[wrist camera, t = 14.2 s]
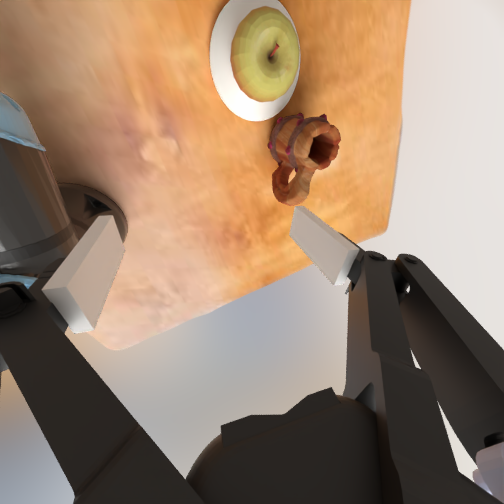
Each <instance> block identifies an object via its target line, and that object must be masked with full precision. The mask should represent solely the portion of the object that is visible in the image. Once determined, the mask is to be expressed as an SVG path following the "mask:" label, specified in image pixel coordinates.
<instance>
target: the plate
mask: <svg viewBox="0 0 504 504" xmlns="http://www.w3.org/2000/svg"><path fill="white" fill-rule="evenodd" d="M263 6H268V7H271V8H275V9H278V10H279V11H281V12H282V13H283V14H284V15H285V16H286V17H287V18H288V19H289V20H290V21H291V23H292V25H293V27H294V29H295V32H296V34H297V31H296V28H295V26H294V23H293V21H292V19H291V17H290V15H289V13H288V12H287V10H286V9H285V7H284V6H283V5H282V4H281V3H280V2H279V1H278V0H230V1H229V2H228V3H227V4H226V5H225V6H224V8H223V9H222V11H221V12H220V14H219V16H218V18H217V20H216V23H215V25H214V28H213V31H212V36H211V41H210V54H209V59H210V69H211V74H212V78H213V82H214V85H215V87H216V90H217V92H218V94H219V96H220V98H221V99H222V101H223V102H224V104H225V105H226V106H227V107H228V108H229V109H230V110H231V111H232V112H233V113H234V114H236V115H237V116H239V117H241V118H243V119H246V120H249V121H263V120H267V119H269V118H271V117H273V116H275V115H276V114H278V113H279V112H280V111H281V110H282V109H283V108H284V107H285V106H286V104H287V103H288V101H289V100H290V98H291V96H292V94H293V92H294V90H295V87H296V84H297V80H298V76H299V70H300V54H299V66H298V70H297V73H296V76H295V79H294V82H293V84H292V85H291V87H290V88H289V89H288V91H287V92H286V93H285V94H284V95H282V96H281V97H279V98H278V99H276V100H274V101H270V102H258V101H255V100H253V99H250V98H249V97H248V96H247V95H245V94H244V93H243V92H242V91H241V90H240V88H239V86H238V84H237V82H236V80H235V78H234V76H233V72H232V67H231V62H230V56H231V43H232V40H233V38H234V35H235V32H236V30H237V27H238V25H239V23H240V22H241V21H242V20H243V19H244V18H245V17H246V16H247V15H248V14H249V13H250V12H251V10H253V9H256V8H260V7H263ZM297 37H298V35H297ZM298 43H299V39H298ZM299 49H300V46H299Z"/></svg>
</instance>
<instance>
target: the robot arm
mask: <svg viewBox="0 0 504 504" xmlns="http://www.w3.org/2000/svg"><path fill="white" fill-rule="evenodd" d="M44 151H46V149H45V147H44V146H43V145H41V144H40V142H39V140H38V137H37V135H36V133H35V131H34V129H33V127H32V124H31V122H30V120H29V118H28V116H27V114H26V112H25V111H24V109H23V108H22V107H21V106H20V105H19V104H18V103H17V102H16V101H14V100H13V99H12V98H10V97H9V96H7V95H5V94H3V93H2V92H0V387H1V372H2V371H5V370H7V369H9V370H10V372H11V373H12V375H13V377H14V379H15V381H16V383H17V385H18V387H19V388H20V390H21V392H22V394H23V396H24V398H25V400H26V402H27V404H28V406H29V407H30V409H31V411H32V413H33V415H34V417H35V419H36V420H37V422H38V424H39V426H40V428H41V430H42V432H43V434H44V436H45V438H46V440H47V441H48V443H49V445H50V447H51V449H52V451H53V452H54V454H55V456H56V458H57V460H58V462H59V464H60V466H61V468H62V470H63V472H64V474H65V475H66V477H67V479H68V481H69V483H70V485H71V487H72V489H73V491H74V495H75V499H74V502H73V504H504V350H503V349H502V348H501V347H500V345H499V344H498V343H497V342H496V341H495V340H494V339H493V338H492V337H491V336H490V335H489V333H488V332H487V331H486V330H485V329H484V328H483V327H482V326H481V325H480V324H479V323H478V322H477V320H476V319H475V318H474V317H473V316H472V315H471V314H470V313H469V312H468V311H467V310H466V308H465V307H464V306H463V305H462V304H461V303H460V302H459V301H458V300H457V299H456V298H455V296H454V295H453V294H452V293H451V292H450V291H449V290H448V289H447V288H446V287H445V286H444V285H443V283H442V282H441V281H440V280H439V279H438V278H437V277H436V276H435V275H434V274H433V273H432V271H431V270H430V269H429V268H428V267H427V266H426V265H425V264H424V263H423V262H422V261H421V260H420V259H418V258H417V257H415V256H412V255H410V254H409V255H408V254H399V256H398V257H397V259H396V260H388V259H387V258H386V257H385V256H384V255H382V254H380V253H377V252H374V251H364V250H363V249H361V248H360V247H359V246H358V245H356V244H355V243H354V242H352V241H351V240H350V239H348V238H347V237H346V236H344V235H343V234H341V233H339V232H337V231H335V230H334V229H333V228H332V227H330V226H329V225H328V224H326V223H325V222H324V221H322V220H321V219H320V218H318V217H317V216H316V215H315V214H313V213H312V212H311V211H309V210H308V209H307V208H305V207H304V206H295V209H294V214H293V219H292V224H291V229H290V234H289V236H290V237H291V238H292V239H293V240H294V241H295V242H296V244H297V245H298V246H299V247H300V248H301V249H302V250H303V251H304V253H305V254H306V255H307V256H308V257H309V258H310V259H311V261H312V262H313V263H314V264H315V265H316V266H317V267H318V268H319V270H320V271H321V272H322V273H323V274H324V275H325V276H326V278H328V280H329V281H330V282H331V283H332V284H333V285H334V286H337V285H342V284H344V283H345V281H346V278H347V277H348V278H349V279H350V280H351V282H350V284H349V287H348V288H347V290H346V292H345V294H347V293H348V292H349V302H348V333H347V334H348V336H347V365H346V366H347V367H346V385H345V390H344V393H343V396H340V395H336V394H335V393H334V391H333V389H332V387H331V388H328V389H324V390H322V391H319V392H316V393H313V394H310V395H308V396H306V397H305V398H304V399H303V400H301V401H300V402H299V403H298V404H296V405H295V406H294V407H293V408H292V409H290V410H289V411H288V412H287V413H285V414H282V415H250V416H247V417H245V418H241V419H239V420H236V421H233V422H230V423H227V424H224V425H221V434H220V435H219V436H217V437H216V438H215V439H214V440H213V441H211V442H210V444H208V446H207V447H206V448H205V449H204V450H203V451H202V453H201V454H200V455H199V457H198V458H197V460H196V461H195V463H194V464H193V466H192V468H191V470H190V472H189V473H188V475H187V477H186V480H185V479H184V477H183V476H182V475H181V474H180V473H179V471H178V470H177V469H176V468H175V467H174V465H173V464H172V463H171V462H170V461H169V459H168V458H167V457H166V456H165V454H164V453H163V452H162V451H161V450H160V448H159V447H158V446H157V445H156V444H155V442H154V441H153V440H152V439H151V438H150V436H149V435H148V434H147V433H146V432H145V430H144V429H143V428H142V427H141V426H140V425H139V424H138V422H137V421H136V420H135V419H134V418H133V416H132V415H131V414H130V413H129V412H128V410H127V409H126V408H125V407H124V405H123V404H122V403H121V402H120V401H119V400H118V398H117V397H116V396H115V395H114V393H113V392H112V391H111V390H110V388H109V387H108V386H107V385H106V384H105V383H104V381H103V380H102V379H101V378H100V376H99V375H98V374H97V373H96V372H95V370H94V369H93V368H92V367H91V365H90V364H89V363H88V362H87V361H86V359H85V358H84V357H83V356H82V355H81V354H80V352H79V351H78V350H77V349H76V348H75V346H74V345H73V344H72V343H71V342H70V340H69V339H68V338H67V337H66V335H65V334H64V333H65V331H66V329H67V327H68V326H69V328H70V329H71V330H72V332H73V333H74V334H76V333H81V332H86V331H92V330H94V329H95V327H96V324H97V321H98V319H99V316H100V314H101V311H102V309H103V306H104V304H105V301H106V298H107V296H108V293H109V291H110V288H111V286H112V283H113V281H114V278H115V276H116V273H117V270H118V268H119V265H120V263H121V260H122V258H123V255H124V253H125V248H124V246H123V243H124V241H125V239H126V236H127V232H128V226H127V221H126V218H125V216H124V214H123V212H122V211H121V210H120V208H119V207H118V206H117V205H116V204H115V203H114V202H113V201H112V200H111V199H109V198H108V197H107V196H105V195H104V194H102V193H100V192H98V191H96V190H94V189H91V188H89V187H86V186H82V185H77V184H70V183H59V184H57V182H56V180H55V177H54V175H53V172H52V170H51V167H50V164H49V162H48V159H47V157H46V154H45V152H44ZM409 285H410V291H409V293H408V292H407V291H406V289H407V288H408V286H409ZM410 348H411V349H410ZM411 350H412V352H413V354H414V356H415V358H416V360H417V362H418V364H419V366H420V367H421V369H419V368H416V367H415V364H414V361H413V357H412V354H411ZM437 401H438V402H439V405H440V406H441V408H442V410H443V412H444V414H445V416H446V418H447V420H448V421H449V423H450V425H451V427H452V429H453V430H454V432H455V434H456V435H457V437H458V438H459V440H460V442H461V443H462V445H463V446H464V448H465V449H466V451H467V452H468V454H469V455H470V457H471V458H472V459H473V461H474V462H475V463H476V465H477V467H478V469H476V470H475V471H473V479H474V481H475V483H474V482H473V481H471V480H470V479H469V478H467V477H466V476H464V475H463V474H461V473H460V472H459V471H458V468H457V465H456V461H455V458H454V455H453V452H452V448H451V445H450V442H449V438H448V435H447V431H446V428H445V425H444V422H443V418H442V415H441V412H440V408H439V405H438V402H437Z"/></svg>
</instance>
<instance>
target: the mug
mask: <svg viewBox="0 0 504 504" xmlns="http://www.w3.org/2000/svg"><path fill="white" fill-rule="evenodd" d="M340 141H341V137H340V133H339V130H338V129H337V128H336V127H335V126H334V125H330V123H329V122H328V121H327V116H326V115H325V114H323V115H321V116H320V117H310V118H306V119H304V116H303V114H302V113H299V114H298V115H293V116H287V117H285V118H282V117H280V118H278V120H277V124H276V125H275V127H274V129H273V131H272V133H271V137H270V141H269V143H268V148H269V149H270V151H271V155H272V157H273V159H274V160H276V161H277V162H278V166H279V168H278V169H277V170H275V171H274V173H273V174H272V186H273V193H274V195H275V197H276V199H277V200H278V201H279V202H281V203H283V204H286V205H289V206H294V205H298V204H300V203H302V202H303V201H304V200H305V199H306V198H307V196H308V194H309V187H310V181H311V178H312V176H313V174H314V172H315V170H316V169H319V170H322V169H325V168H326V167H328V166H329V165H330V163H331V161H332V160H334V159H335V158H336V156H337V154H338V149H339V145H338V143H339V142H340ZM294 168H295V172H296V175H295V177H294V178H293V180H292V181H291V182H290V183H289V184H288V179H289V175H290V173H291V172H292V170H293V169H294Z"/></svg>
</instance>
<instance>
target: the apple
mask: <svg viewBox="0 0 504 504" xmlns="http://www.w3.org/2000/svg"><path fill="white" fill-rule="evenodd" d="M299 54H300V49H299V43H298V37H297V34H296V32H295V29H294V27H293V25H292V23H291V21H290V20H289V19H288V18H287V17H286V16H285V15H284V14H283V13H282V12H281V11H279V10H278V9H275V8H271V7H268V6H263V7H260V8H256V9H253V10H251V12H250V13H249V14H248V15H247V16H246V17H245V18H244V19H243V20H242V21H241V22H240V23H239V25H238V27H237V30H236V32H235V35H234V38H233V40H232V43H231V56H230V62H231V67H232V72H233V76H234V78H235V80H236V82H237V84H238V86H239V88H240V90H241V91H242V92H243V93H244V94H245V95H247V96H248V97H249V98H250V99H253V100H255V101H258V102H270V101H274V100H276V99H278V98H279V97H281V96H282V95H284V94H285V93H286V92H287V91H288V89H289V88H290V87H291V85H292V84H293V82H294V79H295V76H296V73H297V70H298V66H299Z"/></svg>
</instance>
